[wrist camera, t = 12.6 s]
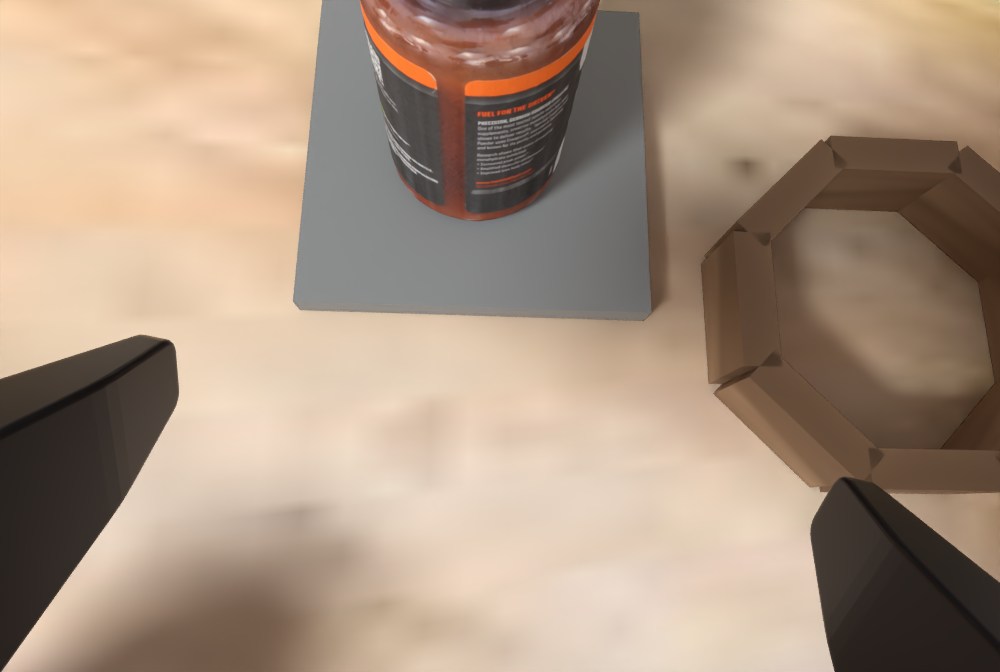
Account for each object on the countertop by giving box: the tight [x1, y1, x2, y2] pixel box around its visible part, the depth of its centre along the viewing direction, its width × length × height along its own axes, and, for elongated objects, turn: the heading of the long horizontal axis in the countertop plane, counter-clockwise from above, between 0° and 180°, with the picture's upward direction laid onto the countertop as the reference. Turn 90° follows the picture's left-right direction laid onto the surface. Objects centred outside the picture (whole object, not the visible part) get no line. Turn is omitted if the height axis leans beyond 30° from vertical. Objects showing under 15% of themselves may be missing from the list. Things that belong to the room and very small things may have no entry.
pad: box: [293, 0, 651, 321], centre depth 25 cm, size 12×12×1 cm
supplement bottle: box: [360, 0, 600, 221], centre depth 19 cm, size 6×6×11 cm
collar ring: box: [701, 136, 1000, 494], centre depth 23 cm, size 12×12×3 cm
